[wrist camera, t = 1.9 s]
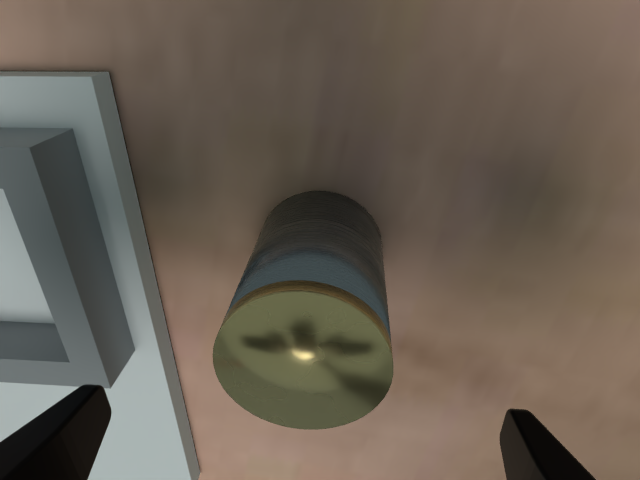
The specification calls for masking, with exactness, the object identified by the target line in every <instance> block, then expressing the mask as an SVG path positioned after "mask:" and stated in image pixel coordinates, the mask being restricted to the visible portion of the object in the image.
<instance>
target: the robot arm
mask: <svg viewBox="0 0 640 480" xmlns="http://www.w3.org/2000/svg"><path fill="white" fill-rule="evenodd" d="M111 413H112V412H111V407H110V404H109V401H108V398H107V395H106V392H105V389H104V388H103V387H102V386H101V385H92V384H85V385H82V386H80V387H79V388H77V389H76V390H74V391H73V392H71V393H70V394H69V395H67V396H66V397H64V398H63V399H61V400H60V401H58V402H57V403H56V404H54V405H53V406H51V407H50V408H48V409H47V410H46V411H44V412H43V413H41V414H40V415H38V416H37V417H35V418H34V419H33V420H31V421H30V422H28V423H27V424H25V425H24V426H23V427H21V428H20V429H18V430H17V431H15V432H14V433H12V434H11V435H10V436H8V437H7V438H5V439H4V440H2V441H1V442H0V480H87V479H88V477H89V475H90V472H91V469H92V467H93V464H94V461H95V459H96V456H97V454H98V451H99V448H100V446H101V443H102V441H103V438H104V435H105V433H106V430H107V428H108V425H109V422H110V419H111ZM500 446H501V452H502V457H503V462H504V467H505V473H506V478H507V480H596V479H595V478H594V477H593V476H592V475H591V474H590V473H589V472H588V471H587V470H586V469H585V468H584V467H583V466H582V465H581V464H580V463H579V462H578V461H577V460H576V458H575V457H574V456H573V455H572V454H571V453H570V452H569V451H568V450H567V449H566V448H565V447H564V446H563V445H562V444H561V443H560V442H559V441H558V440H557V439H556V438H555V437H554V436H553V435H552V434H551V433H550V432H549V431H548V430H547V428H546V427H545V426H544V425H543V424H542V423H541V422H540V421H539V420H538V419H537V418H536V417H535V416H534V415H533V414H532V413H531V412H529V411H528V410H524V409H509V410H508V411H507V412H506V415H505V418H504V422H503V425H502V429H501V432H500Z"/></svg>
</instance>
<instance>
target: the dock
mask: <svg viewBox="0 0 640 480" xmlns="http://www.w3.org/2000/svg"><path fill="white" fill-rule="evenodd" d="M85 384H92V385H101V386H102V387H103V388H104V389H105V392H106V395H107V398H108V401H109V404H110V407H111V412H112V413H111V419H110V422H109V425H108V428H107V430H106V433H105V435H104V438H103V441H102V443H101V446H100V448H99V451H98V454H97V456H96V459H95V461H94V464H93V467H92V469H91V472H90V475H89V477H88V479H87V480H198V478H199V475H200V469H199V465H198V461H197V456H196V452H195V447H194V443H193V439H192V434H191V430H190V425H189V421H188V417H187V412H186V408H185V404H184V399H183V395H182V390H181V386H180V382H179V377H178V373H177V369H176V364H175V360H174V355H173V351H172V347H171V342H170V338H169V334H168V329H167V325H166V320H165V316H164V312H163V307H162V303H161V298H160V294H159V290H158V285H157V281H156V277H155V272H154V268H153V263H152V259H151V255H150V250H149V246H148V242H147V237H146V233H145V228H144V224H143V220H142V215H141V211H140V207H139V202H138V198H137V193H136V189H135V185H134V180H133V176H132V171H131V167H130V163H129V158H128V154H127V150H126V145H125V141H124V136H123V132H122V128H121V123H120V119H119V115H118V110H117V106H116V101H115V97H114V93H113V88H112V84H111V80H110V75H109V72H23V71H0V442H1V441H2V440H4V439H5V438H7V437H8V436H10V435H11V434H12V433H14V432H15V431H17V430H18V429H20V428H21V427H23V426H24V425H25V424H27V423H28V422H30V421H31V420H33V419H34V418H35V417H37V416H38V415H40V414H41V413H43V412H44V411H46V410H47V409H48V408H50V407H51V406H53V405H54V404H56V403H57V402H58V401H60V400H61V399H63V398H64V397H66V396H67V395H69V394H70V393H71V392H73V391H74V390H76V389H77V388H79V387H80V386H82V385H85Z"/></svg>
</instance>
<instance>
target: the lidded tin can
mask: <svg viewBox="0 0 640 480" xmlns="http://www.w3.org/2000/svg"><path fill="white" fill-rule="evenodd" d="M213 365H214V368H215V372H216V375H217V377H218V380H219V382H220V383H221V385H222V387H223V388H224V390H225V391H226V392H227V393H228V395H229V396H230V397H231V398H232V399H233V400H234V401H235V402H236V403H237V404H239V405H240V406H241V407H243V408H244V409H245V410H247V411H248V412H250V413H252V414H253V415H255V416H257V417H259V418H261V419H263V420H266V421H269V422H271V423H274V424H278V425H281V426H285V427H290V428H297V429H327V428H333V427H338V426H341V425H345V424H348V423H350V422H353V421H355V420H357V419H359V418H361V417H363V416H365V415H366V414H368V413H369V412H371V411H372V410H373V409H374V408H375V407H376V406H377V405H378V404H379V403H380V402H381V401H382V400H383V398H384V397H385V395H386V394H387V392H388V390H389V388H390V385H391V382H392V377H393V358H392V347H391V337H390V326H389V316H388V305H387V295H386V285H385V274H384V264H383V253H382V243H381V236H380V232H379V229H378V227H377V225H376V223H375V221H374V219H373V218H372V216H371V215H370V214H369V213H368V212H367V211H366V209H364V208H363V207H362V206H361V205H360V204H358V203H357V202H355V201H354V200H352V199H350V198H348V197H346V196H343V195H340V194H337V193H333V192H327V191H310V192H304V193H301V194H297V195H295V196H292V197H290V198H288V199H286V200H285V201H283V202H282V203H280V204H279V205H278V206H277V207H276V208H275V209H274V210H273V211H272V212H271V213H270V215H269V216H268V218H267V220H266V222H265V224H264V226H263V229H262V231H261V233H260V236H259V238H258V240H257V243H256V245H255V247H254V250H253V252H252V255H251V257H250V259H249V262H248V264H247V266H246V269H245V271H244V273H243V276H242V278H241V281H240V283H239V285H238V288H237V290H236V292H235V295H234V297H233V299H232V302H231V304H230V307H229V309H228V311H227V314H226V316H225V318H224V321H223V323H222V325H221V328H220V330H219V333H218V335H217V337H216V340H215V344H214V348H213Z"/></svg>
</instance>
